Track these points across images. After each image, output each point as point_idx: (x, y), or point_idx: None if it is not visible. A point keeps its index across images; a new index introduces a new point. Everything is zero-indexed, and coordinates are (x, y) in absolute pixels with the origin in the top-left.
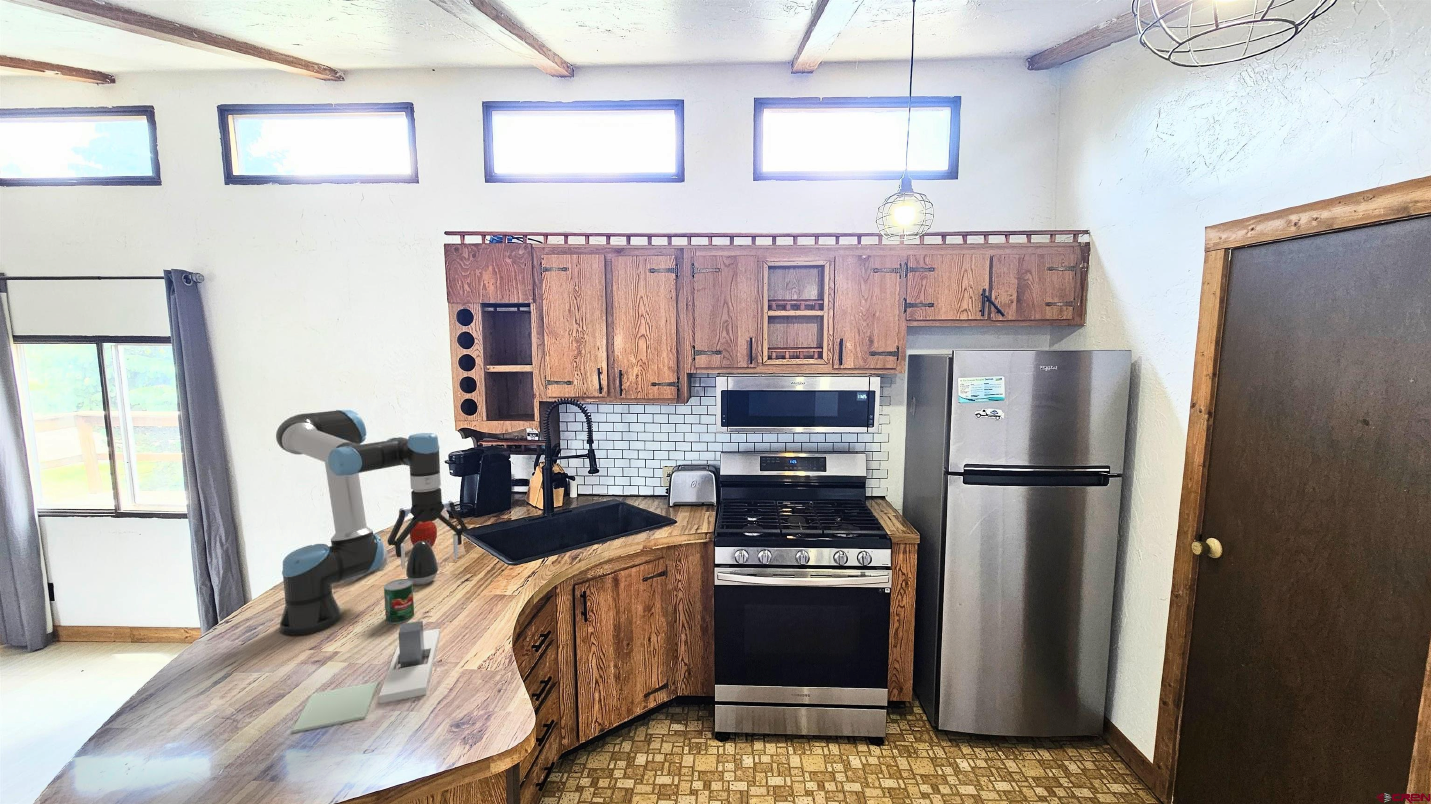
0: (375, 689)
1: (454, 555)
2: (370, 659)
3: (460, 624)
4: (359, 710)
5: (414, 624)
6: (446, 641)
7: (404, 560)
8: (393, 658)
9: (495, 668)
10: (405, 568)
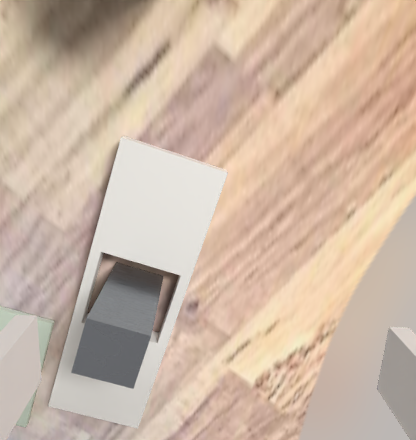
0: (47, 346)
1: (387, 348)
2: (39, 190)
3: (294, 138)
4: None
5: (123, 347)
6: (231, 219)
7: (8, 428)
8: (86, 269)
9: (285, 405)
10: (41, 379)
